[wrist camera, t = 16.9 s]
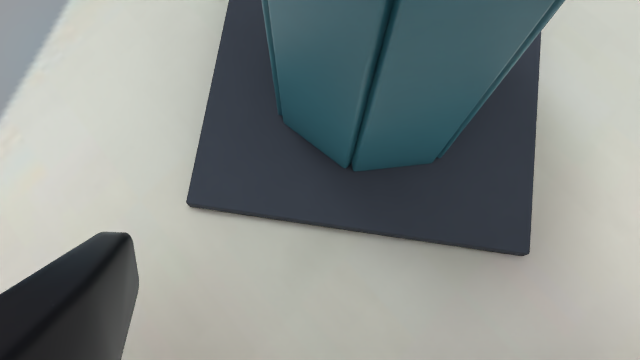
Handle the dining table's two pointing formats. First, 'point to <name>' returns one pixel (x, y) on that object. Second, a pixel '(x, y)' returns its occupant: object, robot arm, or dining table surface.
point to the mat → (371, 185)
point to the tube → (392, 71)
